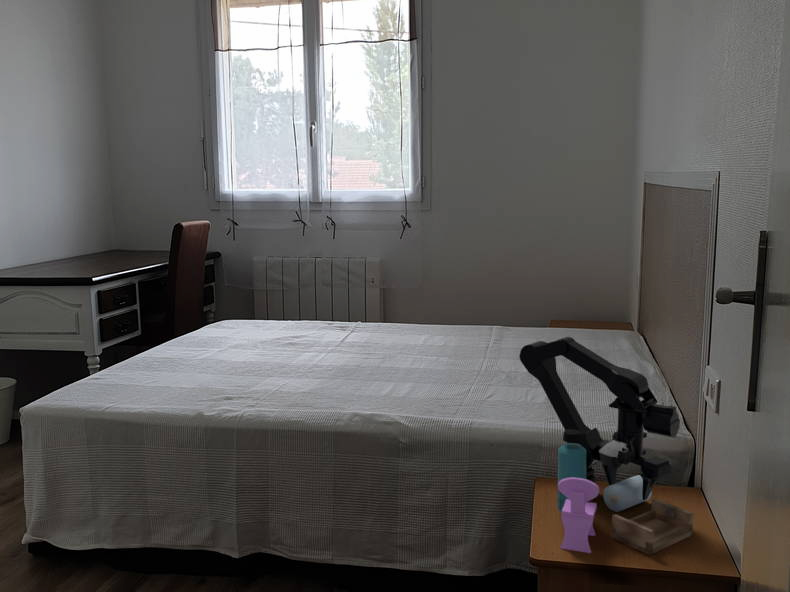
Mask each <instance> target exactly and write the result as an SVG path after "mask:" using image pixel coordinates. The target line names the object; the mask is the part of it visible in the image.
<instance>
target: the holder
mask: <svg viewBox="0 0 790 592" xmlns="http://www.w3.org/2000/svg"><path fill="white" fill-rule="evenodd" d="M611 517H612V518H611V519H612V520H611V538H612V539H613V540H615V541H618V542H620V543H622V544H625V545H627V546H629V547H631V548H633V549H634V550H635V549H636V550H638V551H640V552H642V553H645V554H646V555H648V556H651V555H653V554H656V553H657V552H659V551H662V550H664V549H666V548H668V547H670V546H672V545H674V544H677V543H678V542H680V541H683V540H685V539H687V538H689V537H692V536H693V524H694V523H693V522H694V512H692V511H689V510H687V509H684V508H681V507H678V506H676V505H673V504H671V503H668V502H665V501H663V500H660V499H658V498H652V499H651V509H650V510H648V511H646V512H644V513H643V512H642V513H641V514H639V515H636V516H634V517H632V518H626V517H623V516H621V515H618V514H616V513H615V514H613V515H612V516H611Z"/></svg>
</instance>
